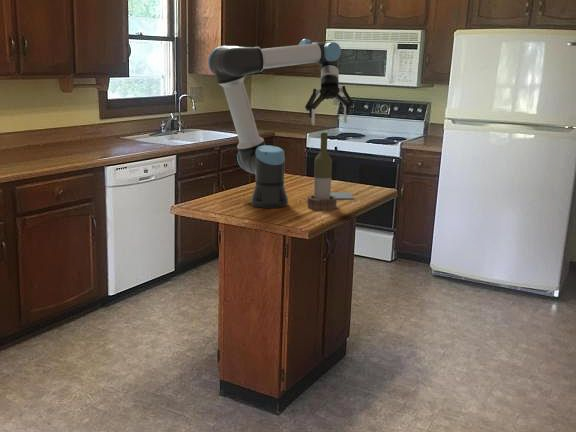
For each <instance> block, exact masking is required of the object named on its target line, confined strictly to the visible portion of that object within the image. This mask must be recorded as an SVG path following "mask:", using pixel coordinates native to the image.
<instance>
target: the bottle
mask: <svg viewBox="0 0 576 432" xmlns="http://www.w3.org/2000/svg"><path fill="white" fill-rule="evenodd" d="M328 135H329V134H328V133H327V132H321V133H320V152H319V153H318V154H317V155H316V157H314V172H313V173H314V175H313V176H314V178H313V179H314V181H313V183H314V186H313V187H314V188H313V193H314V194H313V195H314V199H317V200H330V192H331V187H332V173H333V172H332V171H333V169H332V168H333V159H332V157H331V156H330V155H329V153H328Z"/></svg>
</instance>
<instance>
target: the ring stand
mask: <svg viewBox="0 0 576 432" xmlns="http://www.w3.org/2000/svg"><path fill="white" fill-rule="evenodd" d="M337 202H338V201H337V198H336V197H335V196H331V195H330V200H317V199H314V194H311V195H308V196H307V208H308V209H310V210H315V211H333V210H335V209H337Z"/></svg>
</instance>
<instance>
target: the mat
mask: <svg viewBox="0 0 576 432" xmlns="http://www.w3.org/2000/svg"><path fill="white" fill-rule="evenodd" d="M330 195H331V196H335V197H336V198H337V200H338V201H339V200H343V201H345V200H346V201H347V200H349V201H350V200H355V197H354V196H353V195H352V194H351V192H347V191H346V192H340V191H339V192H337V191H336V192H334V191H333V192H331V191H330Z"/></svg>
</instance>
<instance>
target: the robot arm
mask: <svg viewBox="0 0 576 432" xmlns="http://www.w3.org/2000/svg"><path fill="white" fill-rule="evenodd" d="M341 54H342V49H341V46H340V44H339V43H337V42H335V41H312V40H311V39H307V38H303V39H302V40H300V42H299V43H298V44H297V45H285V46H277V47H268V48H267V47H266V48H261V47H260V46H253V47H252V46H240V45H239V46H238V45H220V46H218V47H215V48H214V49H212V51H211V52H210V53H209V56H208V60H207V63H208V68H209V69H210V72H211V73H213V74H214V75H215V79H216V81H217V84H218V85H219V86H221V87H222V88H223V92H224V95H225V99H226V101H227V106H228V108H229V111H230V115H231V119H232V122H233V125H234V129H235V131H236V135H237V139H238V141H239V142H238V144H237V151H238V152H237V155H236V159H237V162H238V165H239V167H240V168H241V169H242V170H244V171H245V172H247V173H249V174H252V175H255V186H254V189H253V193H252V196H251V199H250V204H251V206H253V207H256V208H261V209H279V208H284V207H287V206H288V204H289V199H288V196H287V192H286V189H285V160H286V157H285V150H284V149H283V148H281V147H279V146H275V145H266V143H265V139H264V138H263V137H262V136H260V134H259V132H258V128H257V124H256V120H255V117H254V114H253V111H252V106H251V103H250V100H249V96H248V93H247V90H246V86H245V82H244V81H245V78H246V76H247V75H250V74H256V73H262V71H264V70H265V69H275V68H281V67H288V66H289V67H291V66H297V65H304V64H313V63H314V64H317V65H320V89H316V88H313V90H312V94H311V96H310V97H309V98H308V100H307V103H306V104H305V106H304V108H305V110H306V111H307V112H309V114H308V115H309V118H310V119H311V125H312V126H315V125H316V124H315V123H316V122H315V117H316V116H315V115H316V113H315V110H316V109H317V108H318V107H319V105H320V104H321V103H322V102H323V101H324V100H325V99H326V100H333V99H334V98H335V99H336V100H338V101H339V102H340V103H341V104H342V105H343V121H344V123H345V124H347V123H348V122H347V121H348V115H350V108H351V107H352V108H354V106H355V105H354V102H353V100H352V98H351V97H350V95H349V93H348V91H347V88H346V86H345V85H342V86H341V87H340V86H339V83H340V82H339V81H340V80H339V77H340V76H339V74H340V73H339V72H340V71H339V66H340V65H339V64H340V56H341ZM340 92H341V93H342V94H343V96H344V97H345V99H344V98H343V97H342V96H341V95H340V94H339V93H340ZM317 96H318V97H317ZM346 100H347V101H346Z"/></svg>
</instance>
